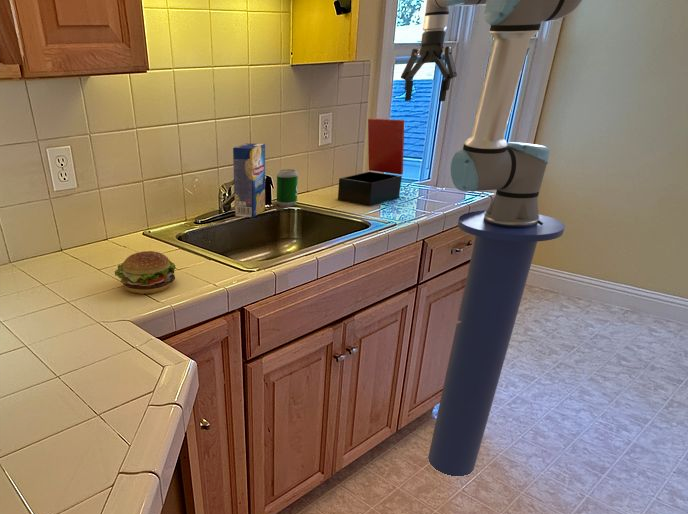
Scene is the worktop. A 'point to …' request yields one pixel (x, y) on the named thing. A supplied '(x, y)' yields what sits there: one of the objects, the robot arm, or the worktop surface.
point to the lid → (386, 145)
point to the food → (146, 272)
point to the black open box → (369, 188)
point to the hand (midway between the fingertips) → (424, 101)
